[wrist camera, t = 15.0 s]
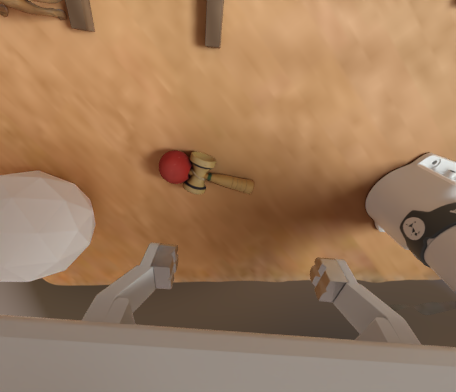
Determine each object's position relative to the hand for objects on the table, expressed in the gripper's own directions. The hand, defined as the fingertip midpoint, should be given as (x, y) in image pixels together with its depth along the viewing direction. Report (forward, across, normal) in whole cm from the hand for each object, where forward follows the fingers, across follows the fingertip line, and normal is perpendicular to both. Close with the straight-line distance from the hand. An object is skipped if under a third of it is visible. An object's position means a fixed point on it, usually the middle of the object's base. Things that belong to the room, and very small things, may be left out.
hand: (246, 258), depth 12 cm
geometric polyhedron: (+29, +35, +19) cm, 50 cm away
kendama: (+30, +4, +9) cm, 31 cm away
